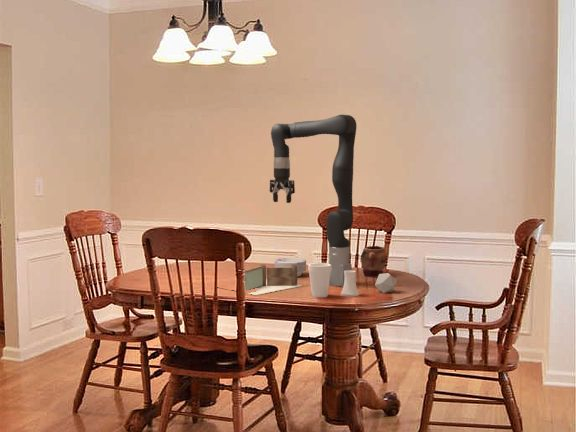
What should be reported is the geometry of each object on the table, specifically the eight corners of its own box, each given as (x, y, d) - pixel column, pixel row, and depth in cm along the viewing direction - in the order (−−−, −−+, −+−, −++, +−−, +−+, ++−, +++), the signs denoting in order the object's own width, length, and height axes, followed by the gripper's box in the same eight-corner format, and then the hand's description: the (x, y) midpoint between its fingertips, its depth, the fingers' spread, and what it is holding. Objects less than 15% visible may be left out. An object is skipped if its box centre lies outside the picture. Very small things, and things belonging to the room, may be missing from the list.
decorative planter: (384, 280, 320) (385, 250, 318) (358, 279, 322) (358, 249, 321) (387, 272, 339) (387, 244, 338) (362, 272, 341) (362, 244, 340)
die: (387, 290, 299) (374, 273, 298) (403, 282, 294) (389, 265, 293) (381, 300, 293) (368, 283, 292) (397, 293, 288) (383, 275, 287)
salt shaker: (362, 294, 288) (362, 270, 287) (351, 297, 282) (351, 273, 282) (348, 292, 293) (348, 269, 292) (337, 295, 287) (337, 271, 287)
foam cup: (312, 298, 281) (311, 267, 279) (305, 294, 289) (305, 263, 288) (334, 297, 283) (334, 265, 282) (327, 293, 292) (326, 262, 291)
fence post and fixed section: (297, 284, 309) (297, 264, 308) (297, 285, 306) (297, 265, 305) (260, 285, 309) (260, 264, 308) (260, 286, 306) (260, 265, 305)
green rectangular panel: (260, 285, 306) (259, 265, 306) (263, 285, 306) (262, 266, 305) (244, 290, 295) (243, 270, 294) (247, 290, 294) (246, 270, 293)
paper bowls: (306, 278, 326) (306, 261, 325) (274, 278, 326) (273, 262, 325) (306, 273, 341) (306, 257, 340) (275, 273, 341) (275, 257, 340)
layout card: (302, 286, 307) (302, 285, 307) (255, 295, 287) (255, 294, 287) (262, 279, 325) (262, 278, 325) (216, 287, 306) (216, 286, 306)
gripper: (265, 167, 322) (265, 202, 323) (286, 167, 312) (287, 203, 313) (276, 167, 327) (277, 201, 329) (298, 167, 317) (298, 202, 319)
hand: (282, 202), depth 321 cm, fingers open, 8 cm apart
